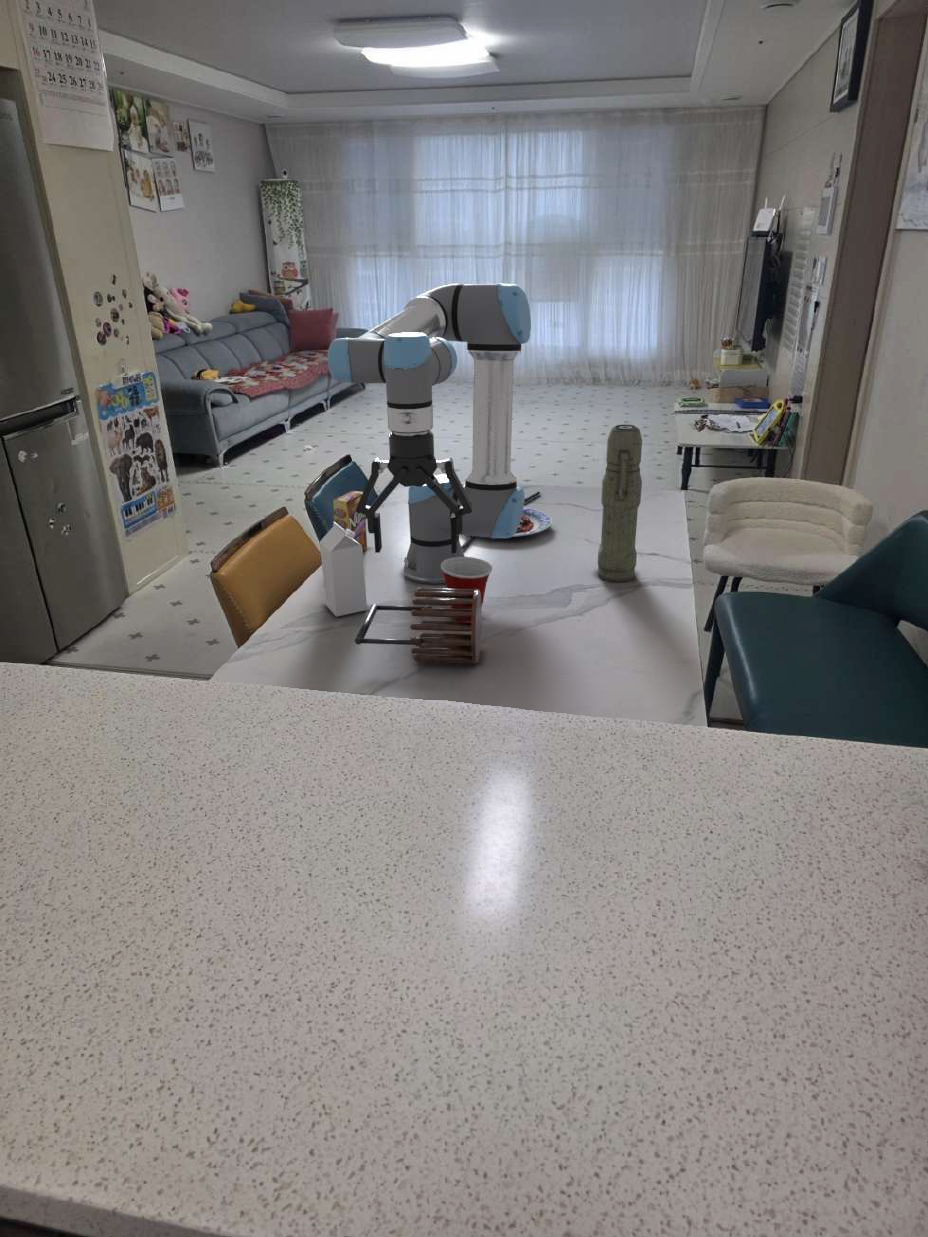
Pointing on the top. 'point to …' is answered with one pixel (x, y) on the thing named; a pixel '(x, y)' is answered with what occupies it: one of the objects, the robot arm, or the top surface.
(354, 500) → the candy box
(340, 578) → the milk carton
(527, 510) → the ceramic plate
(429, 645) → the basket
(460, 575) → the plastic cup
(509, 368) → the robot arm
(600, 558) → the thermos
